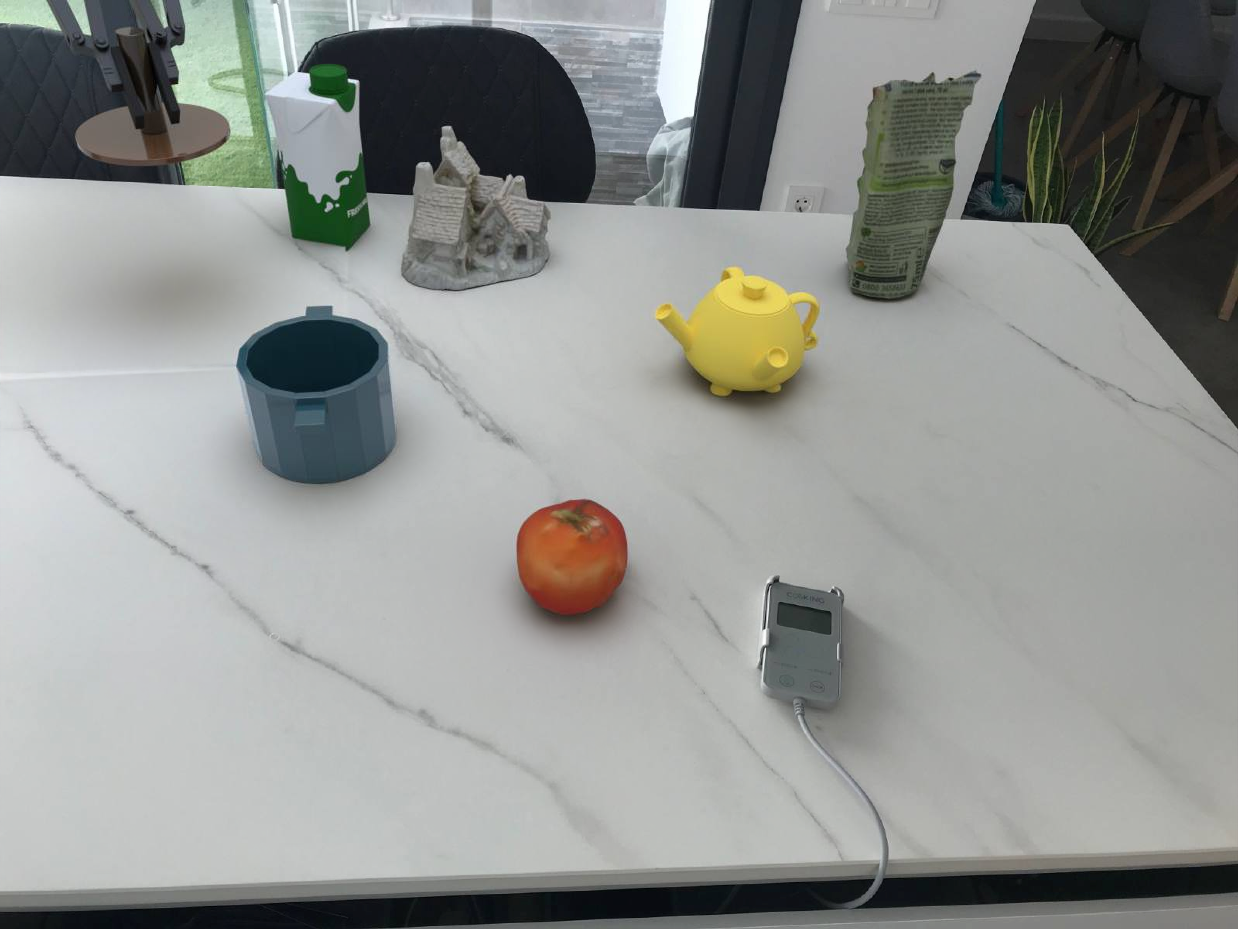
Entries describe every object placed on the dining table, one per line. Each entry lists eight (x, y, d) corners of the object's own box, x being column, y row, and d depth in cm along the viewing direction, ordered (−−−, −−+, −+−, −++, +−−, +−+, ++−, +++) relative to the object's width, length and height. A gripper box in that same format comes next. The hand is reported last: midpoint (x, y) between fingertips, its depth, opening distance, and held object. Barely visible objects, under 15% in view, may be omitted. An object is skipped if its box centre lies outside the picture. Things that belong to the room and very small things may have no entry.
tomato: (544, 647, 74) (546, 576, 69) (496, 567, 80) (495, 495, 75) (649, 607, 78) (659, 537, 73) (596, 533, 84) (601, 463, 79)
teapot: (643, 379, 102) (654, 286, 94) (707, 323, 111) (721, 234, 103) (767, 434, 96) (788, 339, 89) (823, 370, 105) (847, 280, 98)
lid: (64, 173, 88) (27, 56, 81) (94, 114, 98) (64, 6, 91) (224, 171, 90) (201, 57, 84) (238, 113, 100) (218, 8, 94)
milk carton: (352, 255, 117) (331, 86, 103) (280, 243, 118) (251, 74, 104) (380, 222, 123) (364, 60, 110) (312, 211, 124) (288, 49, 111)
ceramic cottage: (381, 273, 113) (379, 149, 104) (452, 221, 126) (456, 105, 116) (501, 316, 110) (510, 191, 101) (562, 258, 122) (575, 142, 113)
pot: (246, 509, 83) (225, 422, 77) (265, 384, 97) (247, 301, 90) (397, 498, 86) (388, 413, 79) (395, 378, 99) (387, 296, 93)
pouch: (822, 288, 118) (872, 80, 102) (844, 246, 127) (893, 47, 111) (914, 312, 116) (979, 102, 99) (929, 268, 124) (993, 67, 108)
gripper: (160, -106, 95) (240, 124, 96) (-20, -98, 88) (68, 150, 89) (160, -159, 89) (247, 89, 89) (-35, -155, 82) (61, 114, 82)
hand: (157, 119), depth 89 cm, fingers closed on lid, 2 cm apart
